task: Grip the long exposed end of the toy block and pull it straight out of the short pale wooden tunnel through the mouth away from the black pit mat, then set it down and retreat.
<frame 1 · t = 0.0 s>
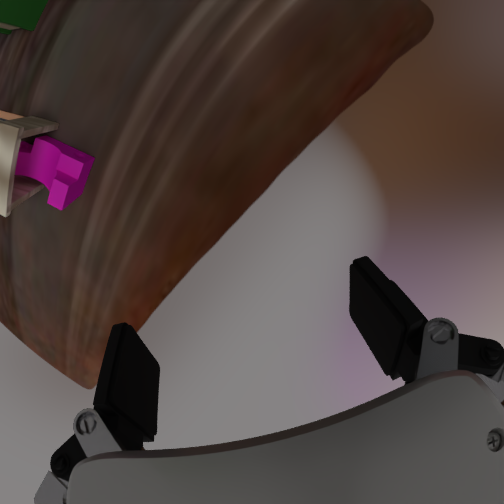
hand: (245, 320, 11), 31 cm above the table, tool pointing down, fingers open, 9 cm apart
toy block: (53, 158, 32), on the table
tunnel: (37, 152, 30), on the table
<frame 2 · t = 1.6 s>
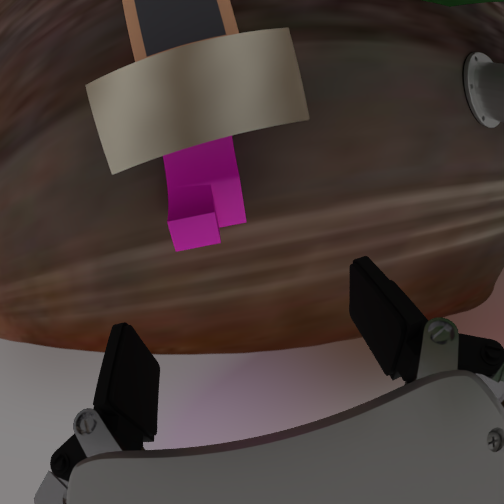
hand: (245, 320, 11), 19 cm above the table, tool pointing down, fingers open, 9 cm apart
toy block: (198, 141, 25), on the table
tunnel: (200, 101, 22), on the table
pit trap: (177, 11, 17), on the table
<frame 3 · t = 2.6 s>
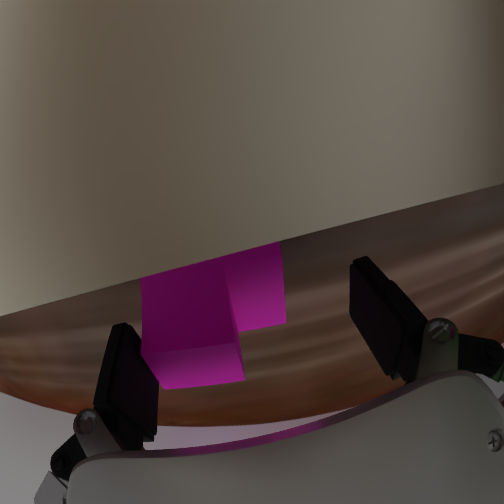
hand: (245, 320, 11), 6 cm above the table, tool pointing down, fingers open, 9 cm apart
toy block: (197, 165, 14), on the table, touching gripper
tunnel: (204, 85, 11), on the table
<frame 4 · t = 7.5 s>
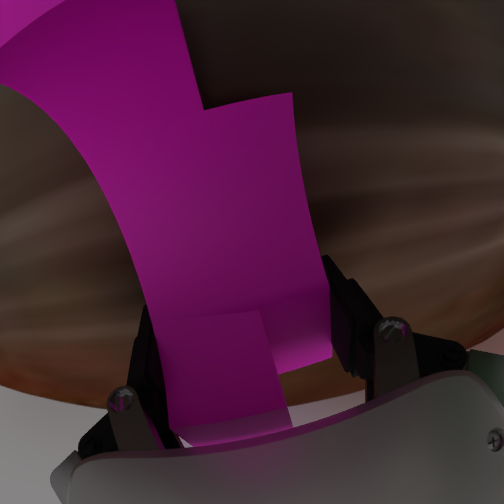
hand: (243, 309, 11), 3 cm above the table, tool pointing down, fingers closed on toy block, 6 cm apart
toy block: (207, 179, 11), on the table, touching gripper
when the fingers open (2 cm above the table, at t = 7.7 s): toy block stays where it is, on the table.
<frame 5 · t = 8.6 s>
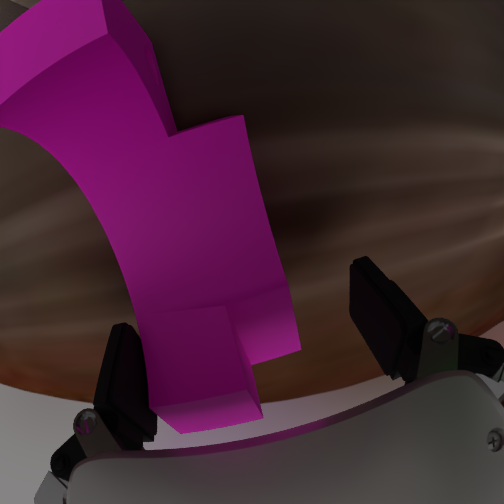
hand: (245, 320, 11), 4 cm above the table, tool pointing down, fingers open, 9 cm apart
toy block: (184, 191, 12), on the table
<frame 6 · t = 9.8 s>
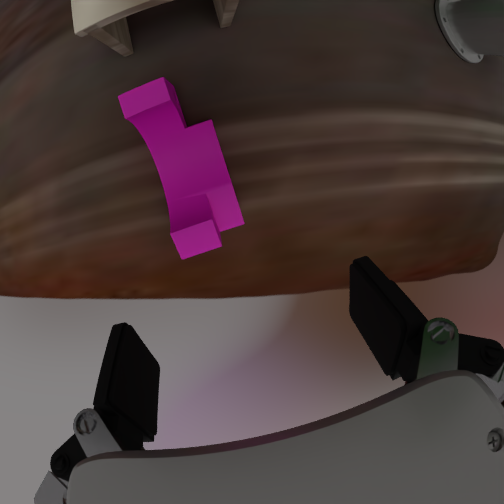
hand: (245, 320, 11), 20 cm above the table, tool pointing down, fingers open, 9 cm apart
toy block: (190, 153, 26), on the table
tunnel: (170, 16, 18), on the table
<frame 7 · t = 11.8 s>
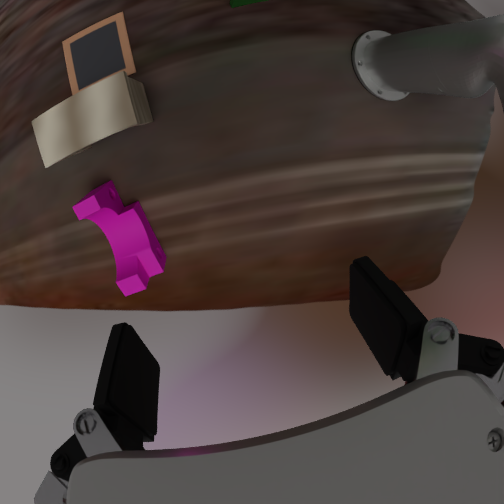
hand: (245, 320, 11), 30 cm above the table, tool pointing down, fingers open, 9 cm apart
toy block: (129, 223, 39), on the table
tunnel: (112, 116, 30), on the table
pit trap: (97, 54, 25), on the table
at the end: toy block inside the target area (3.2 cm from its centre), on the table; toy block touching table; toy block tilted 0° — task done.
